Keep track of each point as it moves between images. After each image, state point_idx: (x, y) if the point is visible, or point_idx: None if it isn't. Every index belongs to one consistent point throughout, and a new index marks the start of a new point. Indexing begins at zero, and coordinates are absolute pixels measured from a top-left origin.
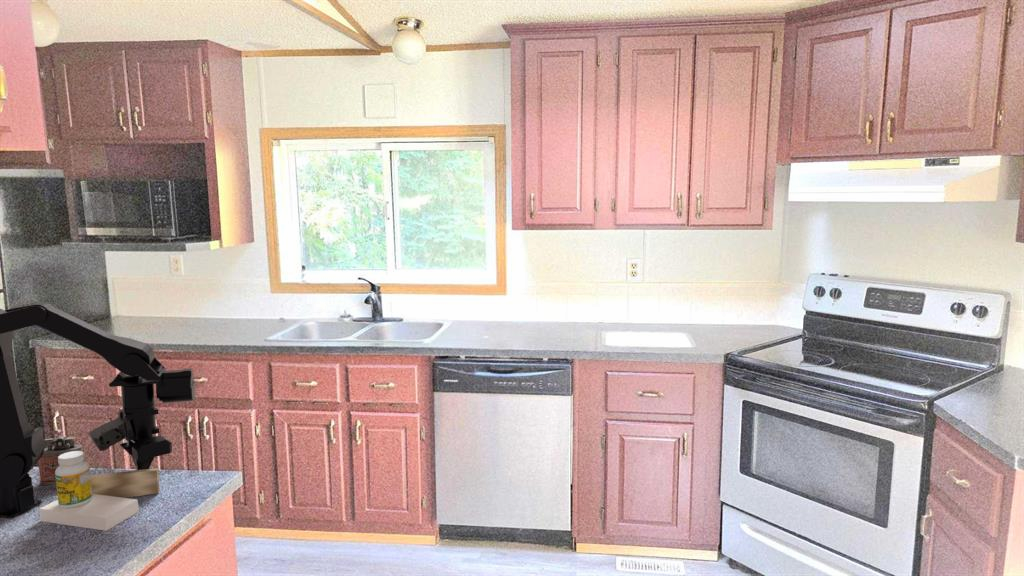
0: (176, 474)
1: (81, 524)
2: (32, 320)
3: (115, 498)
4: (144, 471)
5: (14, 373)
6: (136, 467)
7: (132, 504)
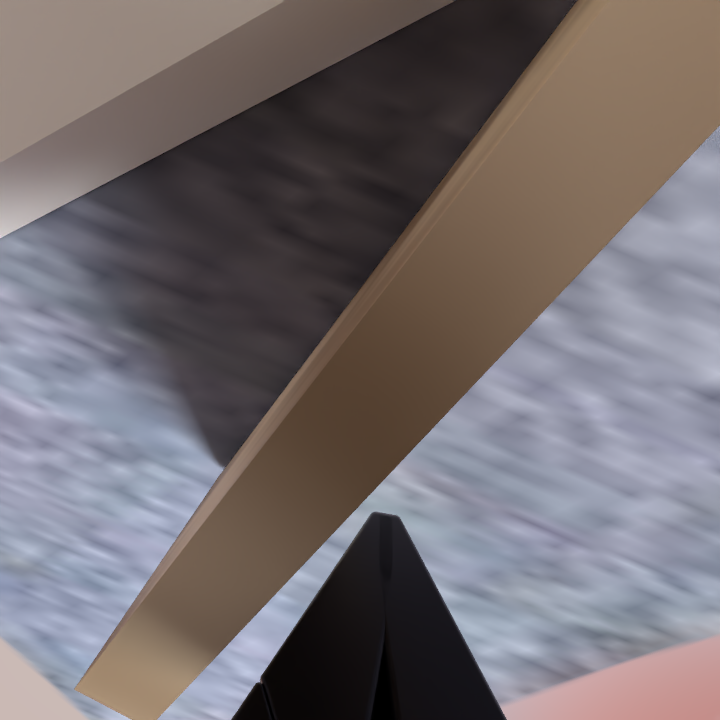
0: None
1: None
2: None
3: (48, 80)
4: (146, 603)
5: None
6: (386, 620)
7: None
